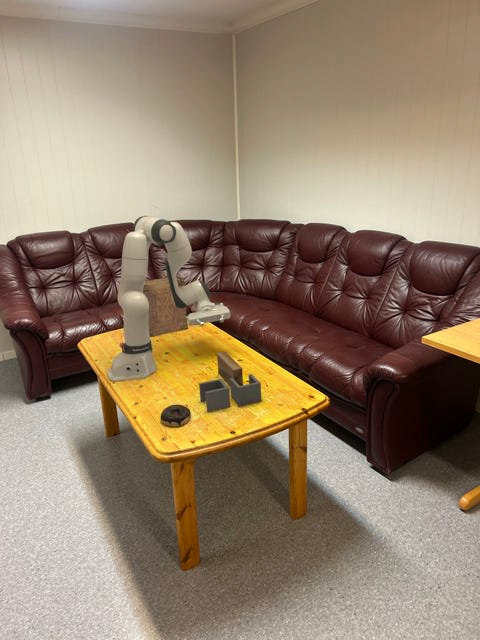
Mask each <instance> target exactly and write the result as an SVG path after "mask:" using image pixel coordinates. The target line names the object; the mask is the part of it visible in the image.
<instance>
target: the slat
mask: <svg viewBox="0 0 480 640" xmlns="http://www.w3.org/2000/svg"><path fill="white" fill-rule="evenodd" d="M216 358H217V359H216V360H217V369H218V370H217V372H218V375H219V376H220V377H221V379H222V380H223V381H224V383H225V384H226V385H227V386H228V387H230V378H233V379H234V380H235V381H236V382H237V383H238V384H239V385H240V386H242V385H244V376H243V367H242V366H241V365H240V364H238V362H237V361H235V359H234V358H233V357H232V356H230V355H229V353H227V351H222V352H217V353H216Z"/></svg>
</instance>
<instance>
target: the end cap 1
mask: <svg viewBox="0 0 480 640" xmlns="http://www.w3.org/2000/svg"><path fill="white" fill-rule="evenodd" d="M198 387H199V389H198V391H199V398H200V399H199V400H200V403H201V404H202V403H205V406H206V407H205V408H206V412H207V413H211V412H214V411H218V410H223V409H227V408H230V407H231V391H230V386H229V385H228V384H227V383H226V382H225V381H224V379H223V378H217V379H216V378H215V379H212V380H207V381H203V382H198Z"/></svg>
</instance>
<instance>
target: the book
mask: <svg viewBox="0 0 480 640" xmlns="http://www.w3.org/2000/svg"><path fill="white" fill-rule="evenodd" d="M176 278H177V283H178V287H179V288H181V287H183V286H185V279H184V278H183V277H180V276H178V275H176ZM143 294H144V295H145V296H146V297H147V299H148V302H149V318H148V326H149V335H150V338H154V337H159V336H162V335H168V334H171V333H175V332H180V331H184V330H185V331H186V330H188V329H189V323H188V320H187V319H186V316H188V313H187V307H185V308H183V309H180V308H177V307H175V305H174V304H173V302H172V298H171V289H170V285H169V281H168V277H161V278H157V279H151V280H145V284H144V288H143Z"/></svg>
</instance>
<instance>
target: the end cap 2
mask: <svg viewBox="0 0 480 640" xmlns="http://www.w3.org/2000/svg"><path fill="white" fill-rule="evenodd" d="M229 392H230V398H231V399H232V400H233V401H234V402H235V404H236V405H238V407H244V406H247V405H251V404H256V403H260V402H262V383H261V382H260V380H258V378H257V377H255V376H254V375H253V374H252V373H249V374H248V383H247V384H243V385H242V386H240V385H239V384H238V383H237V382H236V381H235V380H234V379H233V378H230V386H229Z"/></svg>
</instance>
